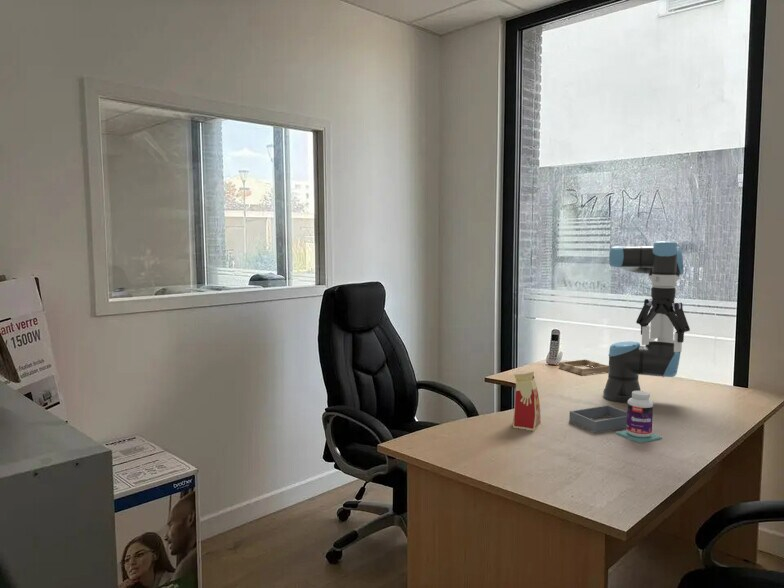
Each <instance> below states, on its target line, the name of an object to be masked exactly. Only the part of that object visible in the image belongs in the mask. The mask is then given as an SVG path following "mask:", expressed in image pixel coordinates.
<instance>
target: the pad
mask: <svg viewBox="0 0 784 588" xmlns="http://www.w3.org/2000/svg"><path fill="white" fill-rule="evenodd" d="M616 434H617V435H619V436H621V437H623V438H626V439H629V440H630V441H634V442H636V443H638V444H642V443H647V442H652V441H657V440H661V439H663V437H662V436H660V435H658V434H656V433H653V432H652V434H651V436H649V437H635V436H632V435H630V434H628V433H627V431H626V429H625V430H620V431H616Z"/></svg>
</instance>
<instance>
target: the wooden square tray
mask: <svg viewBox="0 0 784 588" xmlns="http://www.w3.org/2000/svg"><path fill="white" fill-rule="evenodd" d="M581 365H589V366H593V367H594V368H591V367H587V368H581V367H582V366H581ZM575 366H579V367H575ZM558 369H560V370H564V371H566V370H567V372H569V371H571V372H570V373H572V372H574V373H573V374H576V373H577V374H576V375H579V374H580V375H579V376H582V375H584V376H588V375H587V374H592V375H594V374H593V373H599V374H603V373H602V372H607V373H608V372H609V364H608V365H606V364H603V363H599V362H596V361H592V360H589V359H586V358H585V359H577V360H569V361H561V362H559V364H558Z"/></svg>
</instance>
